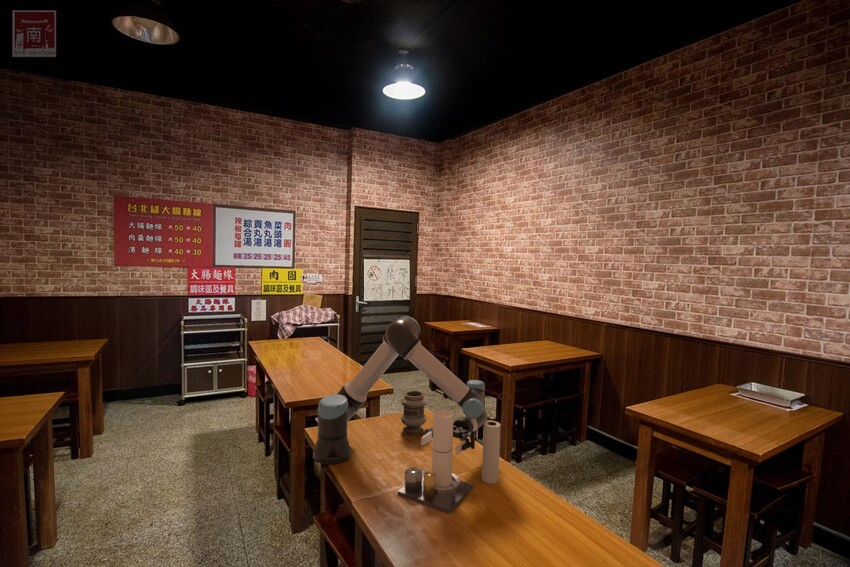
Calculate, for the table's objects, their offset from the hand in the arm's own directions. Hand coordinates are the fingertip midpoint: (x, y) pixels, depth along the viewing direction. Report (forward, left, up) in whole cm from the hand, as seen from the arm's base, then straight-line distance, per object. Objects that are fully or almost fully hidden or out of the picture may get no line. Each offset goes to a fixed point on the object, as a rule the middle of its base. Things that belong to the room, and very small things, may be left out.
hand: (438, 446), depth 145 cm
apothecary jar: (-34, +39, -16) cm, 54 cm away
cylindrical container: (0, +3, -14) cm, 15 cm away
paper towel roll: (+13, +17, -16) cm, 27 cm away
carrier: (0, -1, -16) cm, 16 cm away
